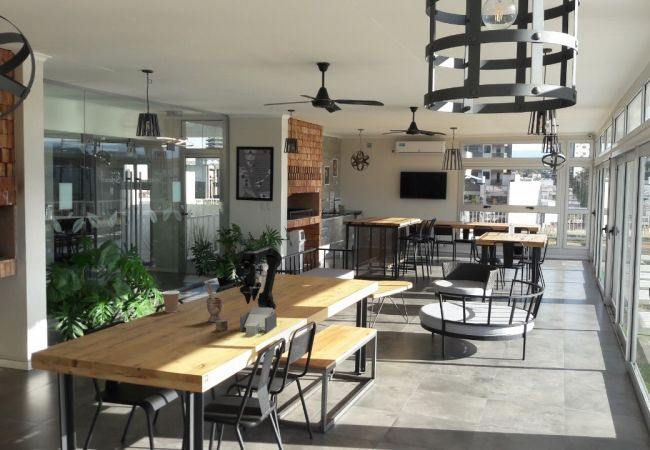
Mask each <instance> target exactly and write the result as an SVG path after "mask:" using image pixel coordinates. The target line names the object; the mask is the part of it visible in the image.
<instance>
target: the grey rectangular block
mask: <svg viewBox="0 0 650 450" xmlns="http://www.w3.org/2000/svg"><path fill="white" fill-rule="evenodd" d="M260 331H261V328H260V323H250V324H248V325H246V330H245V334H246V335H245V336H257V335H258V334H259V333H260Z"/></svg>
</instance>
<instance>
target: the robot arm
mask: <svg viewBox="0 0 650 450" xmlns="http://www.w3.org/2000/svg"><path fill="white" fill-rule="evenodd" d="M260 258H265V259H266V264H267V271H266V276H265V280H264V284H263V285H264V286H263V291H261V292H260V289H261V287H262V283H261V282H260V281H257V278H258V276H257V275H256V273H257V272H256V271H257V270H256V267H257V266H258V263H257V262H259V259H260ZM282 260H283V257H282V255H281V254H280V252H279V251H277V250H275V248H273V247H272V246H264V247H262V248H260V249H257V250H255V251H245V252H244V253H243V255H242V257H241V259H240V263H239V264H238V266H237V267H236V268H235V271H234V272H235V275H236V276H237V277H238V278H242V277H243V278H242V279H236V280H235V281H234V286H236V288H239V287H240V288H239V293H241V294H242V295H243V296H244V299H245V302H246V304H247V305H250V302H251V299H252V301H253V302H255V301H256V299H257V305H258V306H257V307H261V308H273V310H274V311H275V310H276V308H277V304H276V303H275V302H274V296H273V289H274V288H273V287H274V285H275V284H274V282H275V278H276V275H277V274H276V273H277V269H278V268H279V267H280V265H281V263H282ZM258 293H259V294H258ZM257 297H258V298H257Z"/></svg>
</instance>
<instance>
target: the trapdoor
mask: <svg viewBox="0 0 650 450" xmlns="http://www.w3.org/2000/svg"><path fill="white" fill-rule="evenodd" d="M249 312H250V313H249V316H248V318H247V320H246V323H245V325H244V328H246V325H248V324H250V323H260V330H261V329H263V330H265V318H266V317H268V316H269V315H271V314H272V313H274V312H275V309H274V310H273V308H261V307H259V306H257V307H256V306H255V307H253V306H252V307H251V309H250V311H249Z"/></svg>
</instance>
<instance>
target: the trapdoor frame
mask: <svg viewBox="0 0 650 450" xmlns="http://www.w3.org/2000/svg"><path fill="white" fill-rule="evenodd" d="M249 313H250V311H248V312H247V313H245V314H243V315H241V316H240V317H239V328H240V329H239V330H240V331H239V332H240V333H243V332H245V331H246V328H244V325H245V323H246V320H247V318H248V316H249ZM277 323H278V322H277V311H274V313H272V314H271V315H269V316H268V317H266V318H265V329H264V333H265V334H268V333H270V332H271V331H272V330H273V329H275V328H276V327H277V326H278V325H277ZM242 331H243V332H242Z"/></svg>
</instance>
